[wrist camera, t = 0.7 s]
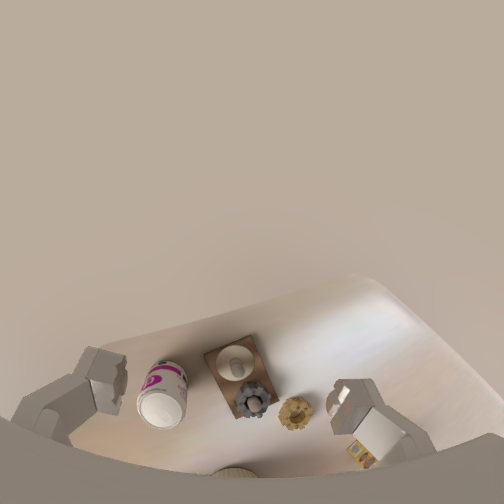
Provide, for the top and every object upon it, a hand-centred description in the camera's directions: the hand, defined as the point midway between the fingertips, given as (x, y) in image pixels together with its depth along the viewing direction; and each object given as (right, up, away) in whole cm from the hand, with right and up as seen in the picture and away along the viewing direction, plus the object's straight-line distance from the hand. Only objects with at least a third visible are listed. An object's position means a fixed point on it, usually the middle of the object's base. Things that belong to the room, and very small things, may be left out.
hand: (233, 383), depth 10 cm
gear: (+1, -25, +47) cm, 53 cm away
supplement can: (-16, -21, +46) cm, 53 cm away
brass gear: (+10, -30, +50) cm, 59 cm away
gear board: (-1, -21, +48) cm, 53 cm away
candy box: (+29, -47, +53) cm, 77 cm away
